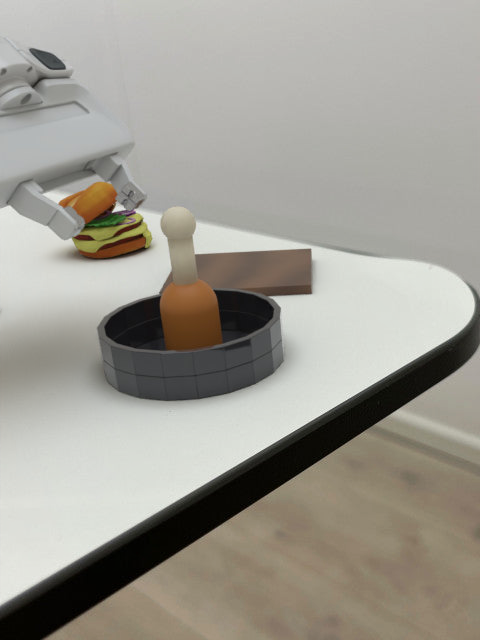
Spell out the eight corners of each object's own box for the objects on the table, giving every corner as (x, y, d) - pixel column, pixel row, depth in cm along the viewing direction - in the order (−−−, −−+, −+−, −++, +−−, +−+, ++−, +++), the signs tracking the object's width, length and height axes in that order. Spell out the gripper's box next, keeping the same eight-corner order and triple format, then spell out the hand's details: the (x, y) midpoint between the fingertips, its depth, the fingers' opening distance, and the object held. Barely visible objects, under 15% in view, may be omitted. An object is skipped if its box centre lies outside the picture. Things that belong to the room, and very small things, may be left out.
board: (160, 305, 81) (158, 292, 80) (181, 266, 94) (180, 254, 93) (312, 297, 82) (311, 284, 81) (312, 260, 94) (311, 248, 94)
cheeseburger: (153, 256, 98) (120, 181, 93) (72, 282, 98) (36, 208, 93) (158, 235, 107) (129, 166, 102) (85, 259, 107) (52, 190, 102)
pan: (85, 411, 59) (74, 358, 58) (128, 336, 73) (120, 292, 71) (281, 399, 60) (276, 347, 58) (287, 328, 74) (283, 283, 72)
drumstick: (163, 373, 64) (139, 215, 59) (173, 350, 69) (151, 201, 63) (221, 370, 64) (202, 212, 59) (227, 347, 69) (209, 198, 63)
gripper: (-111, 70, 50) (50, 222, 51) (72, 54, 68) (187, 167, 69) (-145, 140, 53) (8, 283, 54) (39, 107, 71) (150, 214, 72)
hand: (110, 217), depth 62 cm, fingers open, 8 cm apart
